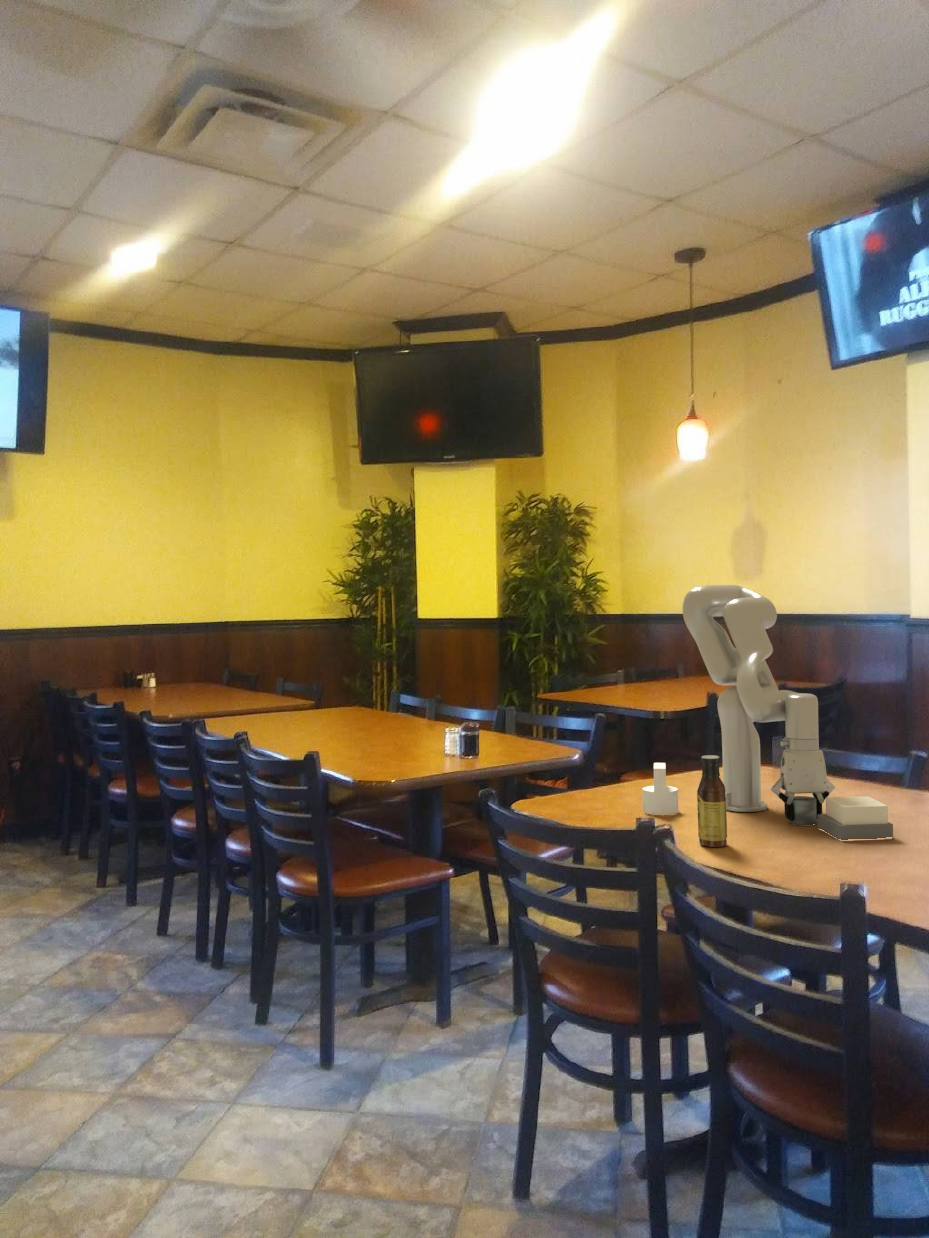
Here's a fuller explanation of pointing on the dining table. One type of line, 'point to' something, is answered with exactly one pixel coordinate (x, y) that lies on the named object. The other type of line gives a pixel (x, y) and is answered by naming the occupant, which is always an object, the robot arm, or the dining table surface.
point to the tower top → (856, 810)
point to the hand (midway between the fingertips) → (803, 818)
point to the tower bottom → (853, 829)
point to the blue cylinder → (804, 810)
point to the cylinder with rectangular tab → (660, 794)
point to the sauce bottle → (711, 804)
